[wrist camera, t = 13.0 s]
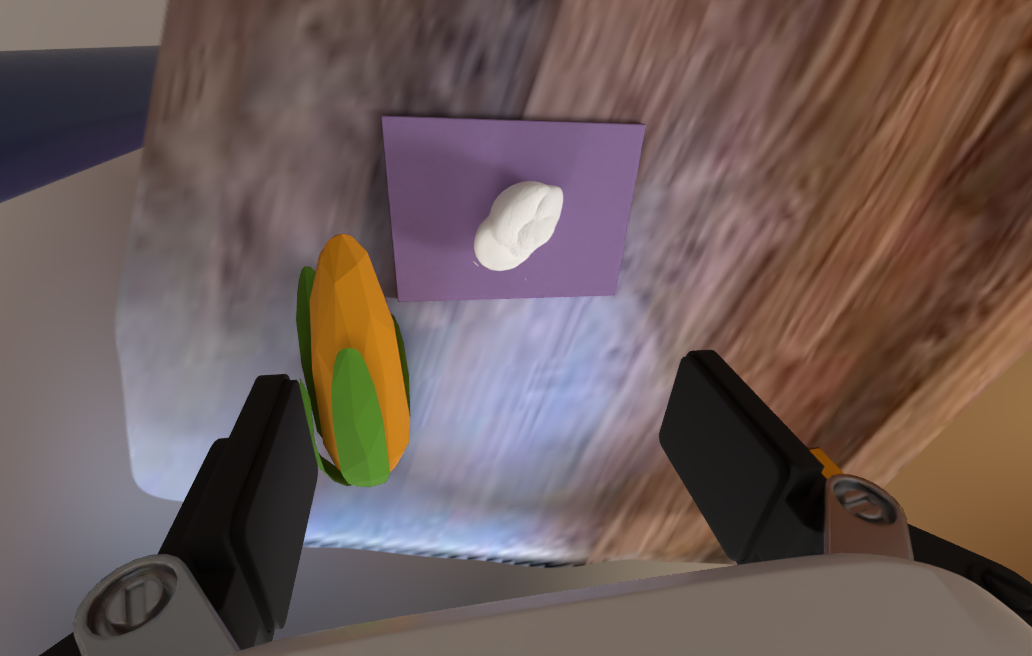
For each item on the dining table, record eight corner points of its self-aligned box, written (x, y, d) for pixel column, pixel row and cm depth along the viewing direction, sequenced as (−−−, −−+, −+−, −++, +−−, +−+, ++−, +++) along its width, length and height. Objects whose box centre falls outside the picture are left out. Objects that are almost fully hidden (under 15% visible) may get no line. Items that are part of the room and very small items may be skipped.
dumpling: (514, 148, 29) (544, 162, 26) (562, 200, 32) (593, 218, 29) (442, 235, 30) (462, 258, 27) (496, 277, 33) (520, 303, 30)
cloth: (398, 299, 33) (398, 302, 33) (381, 115, 27) (381, 116, 27) (613, 293, 36) (615, 295, 35) (643, 123, 30) (646, 124, 29)
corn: (310, 527, 33) (239, 264, 22) (322, 447, 39) (272, 213, 29) (417, 511, 34) (399, 259, 24) (413, 437, 41) (397, 212, 30)
